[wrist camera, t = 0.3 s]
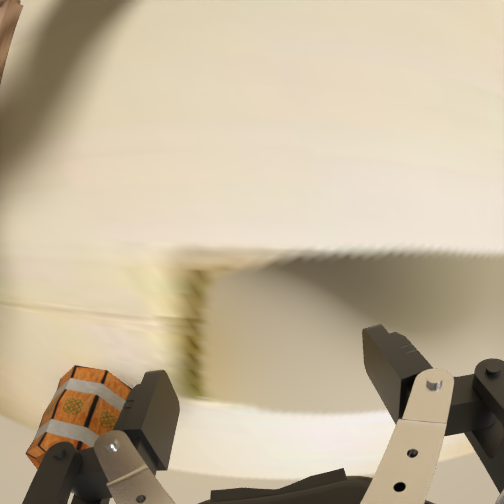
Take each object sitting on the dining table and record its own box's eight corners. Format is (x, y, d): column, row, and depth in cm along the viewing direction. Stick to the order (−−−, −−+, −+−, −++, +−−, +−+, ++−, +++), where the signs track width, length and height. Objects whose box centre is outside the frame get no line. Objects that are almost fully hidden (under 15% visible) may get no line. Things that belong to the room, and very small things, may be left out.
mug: (64, 350, 38) (22, 429, 24) (151, 388, 41) (133, 477, 27) (56, 419, 44) (31, 483, 30) (124, 448, 47) (110, 516, 33)
